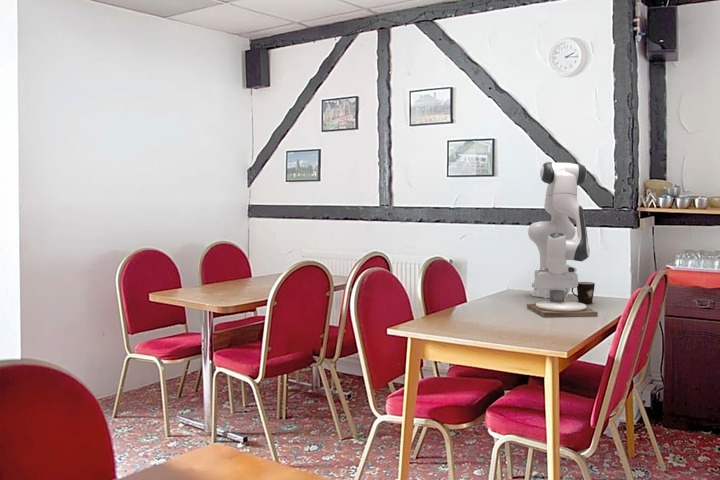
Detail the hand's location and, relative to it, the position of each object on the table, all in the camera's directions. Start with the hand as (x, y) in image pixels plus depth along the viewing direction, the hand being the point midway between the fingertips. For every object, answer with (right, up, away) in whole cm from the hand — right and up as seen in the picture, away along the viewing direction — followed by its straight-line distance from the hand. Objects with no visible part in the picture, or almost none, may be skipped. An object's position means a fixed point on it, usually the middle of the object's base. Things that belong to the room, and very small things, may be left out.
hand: (555, 297), depth 328 cm
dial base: (0, -6, -8) cm, 10 cm away
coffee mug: (+17, -4, +17) cm, 24 cm away
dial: (0, -3, -7) cm, 8 cm away
